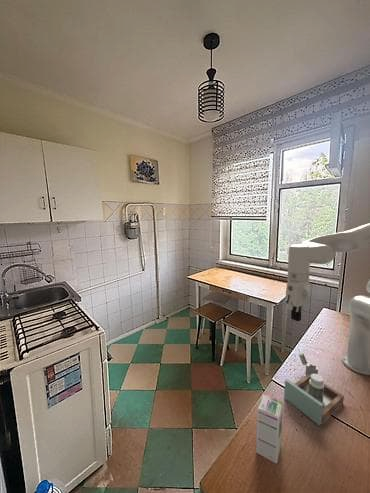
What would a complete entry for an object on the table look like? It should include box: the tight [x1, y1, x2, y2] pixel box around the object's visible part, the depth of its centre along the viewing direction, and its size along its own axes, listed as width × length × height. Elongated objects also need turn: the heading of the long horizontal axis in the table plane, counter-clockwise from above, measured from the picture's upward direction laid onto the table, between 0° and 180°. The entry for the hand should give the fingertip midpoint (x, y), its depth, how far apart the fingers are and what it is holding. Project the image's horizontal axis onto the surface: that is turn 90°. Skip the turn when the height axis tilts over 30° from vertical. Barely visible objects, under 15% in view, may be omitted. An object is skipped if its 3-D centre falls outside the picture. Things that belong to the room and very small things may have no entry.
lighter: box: [298, 352, 319, 376], centre depth 90 cm, size 7×2×8 cm, turn 46°
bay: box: [294, 374, 345, 425], centre depth 78 cm, size 14×12×3 cm
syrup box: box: [255, 394, 284, 464], centre depth 61 cm, size 6×6×14 cm
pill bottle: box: [308, 373, 325, 403], centre depth 78 cm, size 5×5×8 cm
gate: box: [283, 378, 323, 426], centre depth 73 cm, size 12×1×7 cm, turn 31°
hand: (295, 319), depth 88 cm, fingers closed
